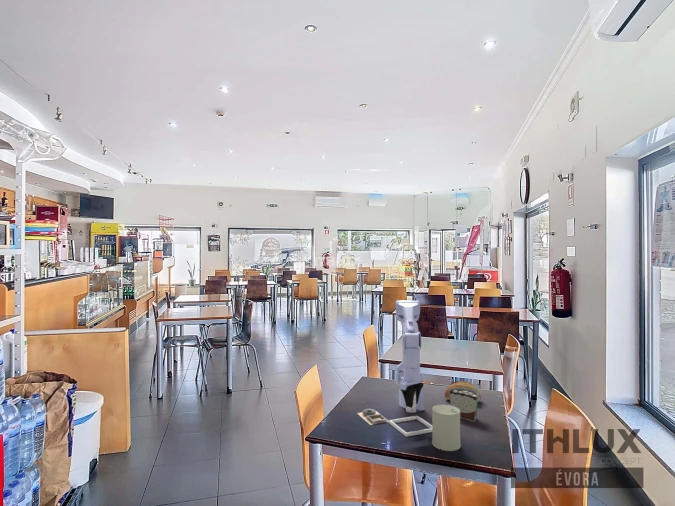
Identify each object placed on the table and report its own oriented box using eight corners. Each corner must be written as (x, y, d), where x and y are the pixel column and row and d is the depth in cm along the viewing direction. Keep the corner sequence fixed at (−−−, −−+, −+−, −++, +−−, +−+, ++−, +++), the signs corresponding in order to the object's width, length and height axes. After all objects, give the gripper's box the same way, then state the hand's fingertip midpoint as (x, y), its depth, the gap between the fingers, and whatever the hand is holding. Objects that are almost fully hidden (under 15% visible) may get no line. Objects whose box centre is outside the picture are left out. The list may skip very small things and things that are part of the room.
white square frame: (417, 422, 152) (417, 415, 152) (436, 435, 141) (436, 428, 141) (388, 427, 147) (388, 420, 147) (406, 441, 136) (406, 433, 136)
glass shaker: (407, 408, 147) (407, 388, 147) (418, 409, 145) (417, 390, 145) (404, 411, 143) (403, 391, 144) (414, 413, 142) (414, 393, 142)
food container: (485, 418, 156) (485, 392, 156) (478, 423, 151) (478, 396, 151) (455, 410, 164) (455, 385, 164) (448, 414, 159) (448, 388, 160)
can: (456, 453, 127) (456, 415, 128) (427, 446, 132) (427, 409, 132) (464, 442, 135) (463, 406, 135) (437, 436, 140) (436, 401, 140)
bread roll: (443, 396, 181) (443, 378, 181) (478, 397, 179) (478, 379, 179) (445, 403, 172) (445, 384, 172) (482, 405, 169) (482, 386, 169)
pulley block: (375, 414, 160) (375, 405, 160) (390, 425, 149) (390, 416, 149) (356, 417, 157) (356, 408, 157) (370, 429, 146) (370, 419, 146)
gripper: (410, 360, 153) (410, 397, 152) (391, 369, 141) (392, 408, 141) (428, 363, 148) (428, 401, 148) (410, 372, 137) (410, 413, 136)
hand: (411, 405), depth 144 cm, fingers closed on glass shaker, 4 cm apart
